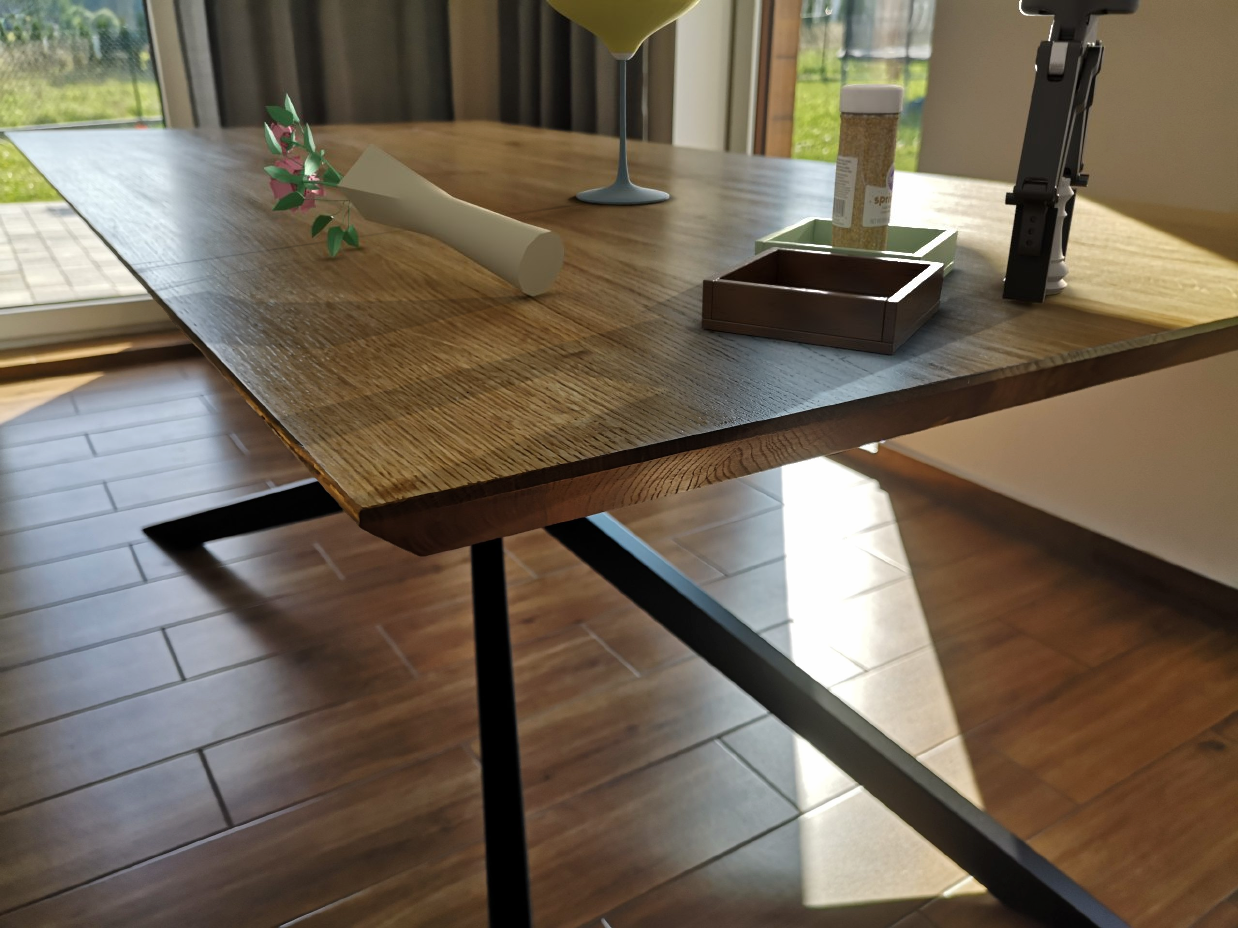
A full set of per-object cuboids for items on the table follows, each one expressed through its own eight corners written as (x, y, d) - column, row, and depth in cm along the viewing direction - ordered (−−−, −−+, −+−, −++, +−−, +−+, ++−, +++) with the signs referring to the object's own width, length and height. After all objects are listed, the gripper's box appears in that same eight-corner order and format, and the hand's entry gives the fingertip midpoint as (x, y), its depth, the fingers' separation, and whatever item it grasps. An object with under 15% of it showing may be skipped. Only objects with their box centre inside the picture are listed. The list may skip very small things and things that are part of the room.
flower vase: (494, 399, 76) (218, 241, 93) (601, 321, 83) (325, 186, 99) (475, 263, 68) (175, 116, 84) (596, 189, 75) (296, 66, 91)
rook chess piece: (1004, 280, 79) (1019, 173, 76) (1066, 285, 78) (1084, 176, 75) (1001, 292, 76) (1017, 180, 72) (1066, 297, 74) (1086, 183, 71)
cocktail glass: (536, 188, 126) (530, -38, 116) (680, 185, 129) (685, -36, 119) (555, 212, 110) (549, -49, 100) (718, 207, 113) (728, -47, 103)
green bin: (953, 269, 83) (958, 229, 82) (915, 301, 73) (921, 256, 72) (806, 254, 89) (809, 217, 87) (752, 283, 79) (755, 240, 77)
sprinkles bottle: (888, 274, 78) (907, 86, 73) (827, 272, 79) (842, 85, 74) (883, 262, 82) (901, 83, 77) (825, 260, 83) (839, 82, 78)
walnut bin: (939, 309, 71) (945, 263, 70) (892, 355, 61) (897, 302, 60) (770, 290, 76) (772, 246, 75) (701, 328, 66) (702, 279, 65)
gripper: (1138, -65, 57) (1069, 326, 66) (1159, -41, 75) (1102, 263, 84) (998, -60, 61) (950, 312, 69) (1050, -38, 79) (1006, 255, 87)
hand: (1033, 285), depth 77 cm, fingers open, 9 cm apart
